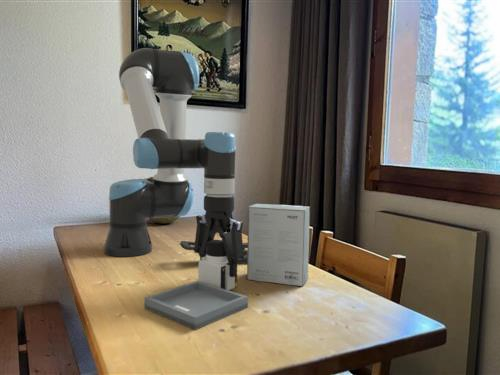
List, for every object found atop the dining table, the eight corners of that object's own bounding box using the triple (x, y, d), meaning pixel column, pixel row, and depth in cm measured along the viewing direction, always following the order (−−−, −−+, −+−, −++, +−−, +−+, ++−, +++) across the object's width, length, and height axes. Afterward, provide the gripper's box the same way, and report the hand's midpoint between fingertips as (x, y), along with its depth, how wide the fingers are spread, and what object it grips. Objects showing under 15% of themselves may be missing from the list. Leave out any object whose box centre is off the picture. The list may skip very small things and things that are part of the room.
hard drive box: (308, 278, 120) (311, 206, 118) (302, 287, 113) (305, 210, 111) (254, 272, 125) (256, 202, 123) (245, 279, 118) (247, 206, 116)
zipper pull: (178, 240, 134) (255, 235, 143) (177, 261, 135) (254, 255, 143) (184, 246, 126) (265, 242, 134) (183, 269, 126) (264, 263, 135)
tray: (144, 308, 96) (144, 297, 96) (197, 290, 109) (197, 280, 109) (195, 329, 86) (195, 317, 86) (247, 307, 99) (247, 296, 98)
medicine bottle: (220, 294, 106) (221, 245, 105) (197, 288, 110) (198, 241, 109) (237, 286, 112) (238, 240, 111) (214, 281, 116) (215, 236, 115)
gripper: (179, 192, 112) (179, 279, 115) (240, 200, 100) (238, 298, 102) (201, 190, 118) (199, 273, 121) (261, 197, 105) (258, 290, 108)
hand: (217, 284), depth 111 cm, fingers closed on medicine bottle, 7 cm apart
